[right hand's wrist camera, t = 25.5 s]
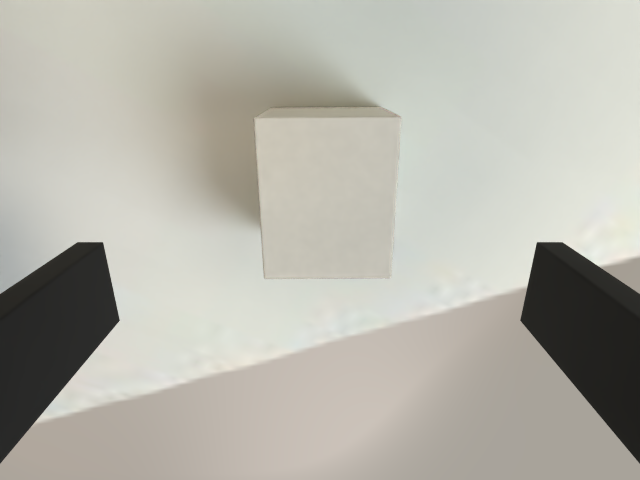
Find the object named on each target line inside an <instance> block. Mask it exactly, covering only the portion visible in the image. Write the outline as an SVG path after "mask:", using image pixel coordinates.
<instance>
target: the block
mask: <svg viewBox="0 0 640 480" xmlns="http://www.w3.org/2000/svg"><path fill="white" fill-rule="evenodd" d="M254 132H255V147H256V162H257V178H258V193H259V208H260V224H261V239H262V254H263V269H264V278H265V279H359V278H391V271H392V256H393V241H394V225H395V210H396V195H397V179H398V164H399V149H400V134H401V116H399V115H397V114H394V113H392V112H390V111H388V110H386V109H384V108H382V107H276V108H270V109H268V110H266V111H265V112H263V113H261V114H260V115H258V116H256V117H254Z"/></svg>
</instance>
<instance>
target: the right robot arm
mask: <svg viewBox="0 0 640 480" xmlns="http://www.w3.org/2000/svg"><path fill="white" fill-rule="evenodd" d="M119 321H120V320H119V316H118V311H117V306H116V301H115V297H114V292H113V287H112V283H111V278H110V273H109V268H108V264H107V259H106V254H105V250H104V245H103V242H77V243H76V244H74V245H73V246H71V247H70V248H69V249H67V250H66V251H64V252H63V253H61V254H60V255H58V256H57V257H55V258H54V259H52V260H51V261H49V262H48V263H46V264H45V265H43V266H42V267H40V268H39V269H37V270H36V271H34V272H33V273H31V274H30V275H28V276H27V277H25V278H24V279H22V280H21V281H19V282H18V283H16V284H15V285H13V286H12V287H10V288H9V289H7V290H6V291H4V292H3V293H1V294H0V463H1V462H2V461H3V460H4V458H5V457H6V456H7V455H8V454H9V452H10V451H11V450H12V449H13V448H14V446H15V445H16V444H17V443H18V442H19V440H20V439H21V438H22V437H23V436H24V434H25V433H26V432H27V431H28V430H29V428H30V427H31V426H32V425H33V424H34V422H35V421H36V420H37V419H38V418H39V416H40V415H41V414H42V413H43V412H44V410H45V409H46V408H47V407H48V406H49V404H50V403H51V402H52V401H53V400H54V398H55V397H56V396H57V395H58V394H59V392H60V391H61V390H62V389H63V388H64V386H65V385H66V384H67V383H68V382H69V381H70V379H71V378H72V377H73V376H74V375H75V373H76V372H77V371H78V370H79V369H80V367H81V366H82V365H83V364H84V363H85V361H86V360H87V359H88V358H89V357H90V355H91V354H92V353H93V352H94V351H95V349H96V348H97V347H98V346H99V345H100V343H101V342H102V341H103V340H104V339H105V337H106V336H107V335H108V334H109V333H110V331H111V330H112V329H113V328H114V327H115V325H116V324H117V323H118V322H119ZM521 322H522V323H523V324H524V325H525V327H526V328H527V329H528V330H529V331H530V333H531V334H532V335H533V336H534V337H535V339H536V340H537V341H538V342H539V343H540V345H541V346H542V347H543V348H544V349H545V350H546V352H547V353H548V354H549V355H550V357H551V358H552V359H553V360H554V361H555V362H556V364H557V365H558V366H559V367H560V369H561V370H562V371H563V372H564V373H565V374H566V376H567V377H568V378H569V379H570V380H571V382H572V383H573V384H574V385H575V386H576V388H577V389H578V390H579V391H580V392H581V394H582V395H583V396H584V397H585V398H586V400H587V401H588V402H589V403H590V404H591V406H592V407H593V408H594V409H595V410H596V412H597V413H598V414H599V415H600V416H601V418H602V419H603V420H604V421H605V422H606V424H607V425H608V426H609V427H610V428H611V430H612V431H613V432H614V433H615V434H616V436H617V437H618V438H619V439H620V440H621V442H622V443H623V444H624V445H625V446H626V448H627V449H628V450H629V451H630V452H631V454H632V455H633V456H634V457H635V458H636V460H637V461H638V462H639V463H640V294H639V293H637V292H636V291H634V290H633V289H631V288H630V287H628V286H627V285H625V284H624V283H622V282H621V281H619V280H618V279H616V278H615V277H613V276H612V275H610V274H609V273H607V272H606V271H604V270H603V269H601V268H600V267H598V266H597V265H595V264H594V263H592V262H591V261H589V260H588V259H586V258H585V257H583V256H582V255H580V254H579V253H577V252H576V251H574V250H573V249H571V248H570V247H569V246H567V245H566V244H564V243H563V242H537V245H536V250H535V254H534V259H533V264H532V268H531V273H530V278H529V283H528V287H527V292H526V297H525V301H524V306H523V311H522V316H521Z"/></svg>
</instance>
